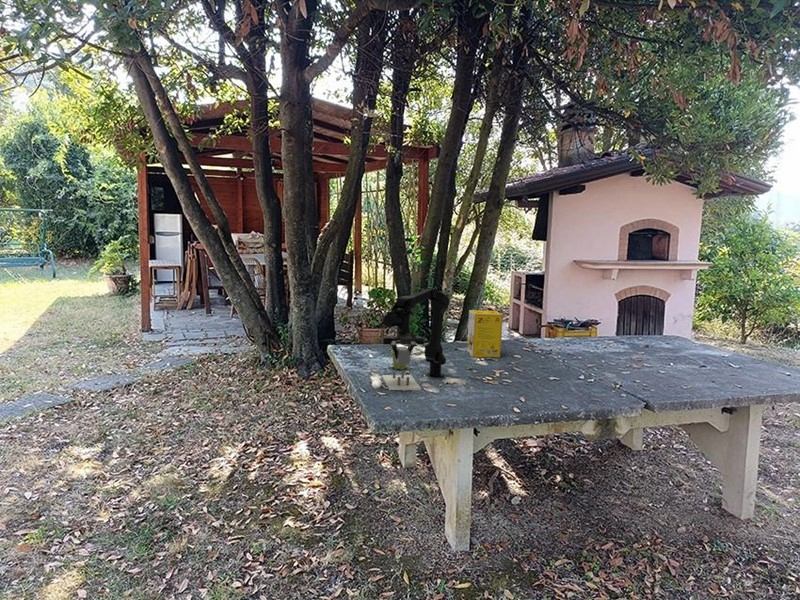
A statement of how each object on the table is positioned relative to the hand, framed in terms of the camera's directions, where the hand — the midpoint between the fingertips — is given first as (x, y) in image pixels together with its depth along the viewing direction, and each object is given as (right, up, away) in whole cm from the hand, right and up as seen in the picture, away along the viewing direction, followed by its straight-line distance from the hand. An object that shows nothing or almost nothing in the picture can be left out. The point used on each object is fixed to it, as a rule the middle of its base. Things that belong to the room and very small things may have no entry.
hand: (401, 359), depth 240 cm
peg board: (-1, -11, +1) cm, 11 cm away
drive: (0, -1, 0) cm, 1 cm away
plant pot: (-1, -8, +30) cm, 31 cm away
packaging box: (+48, -5, +71) cm, 86 cm away
